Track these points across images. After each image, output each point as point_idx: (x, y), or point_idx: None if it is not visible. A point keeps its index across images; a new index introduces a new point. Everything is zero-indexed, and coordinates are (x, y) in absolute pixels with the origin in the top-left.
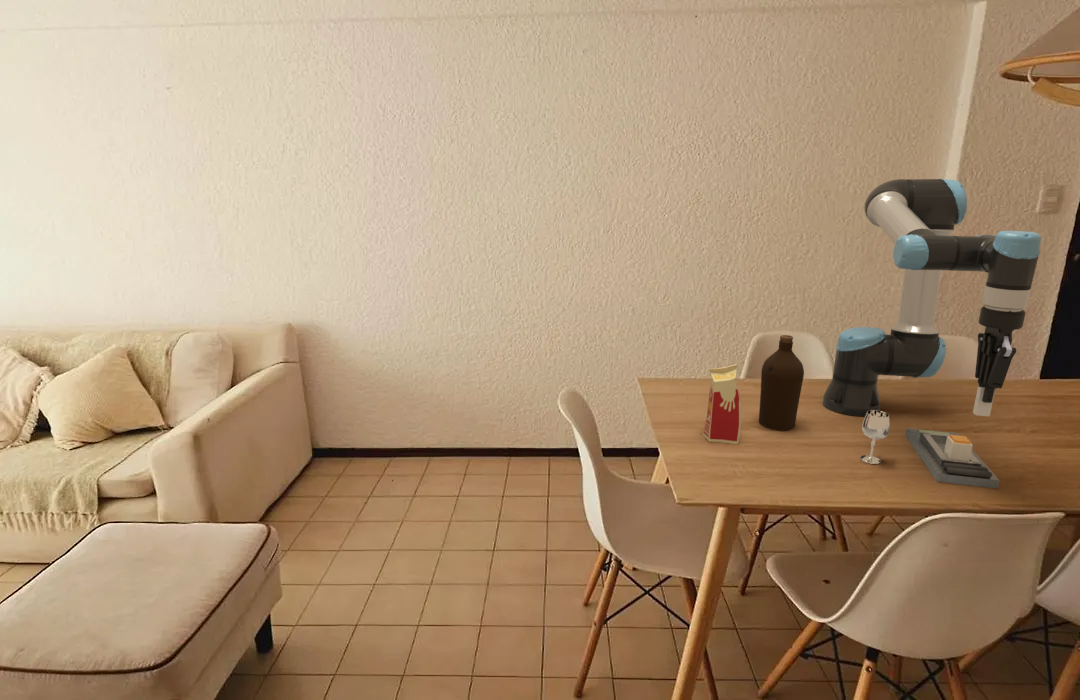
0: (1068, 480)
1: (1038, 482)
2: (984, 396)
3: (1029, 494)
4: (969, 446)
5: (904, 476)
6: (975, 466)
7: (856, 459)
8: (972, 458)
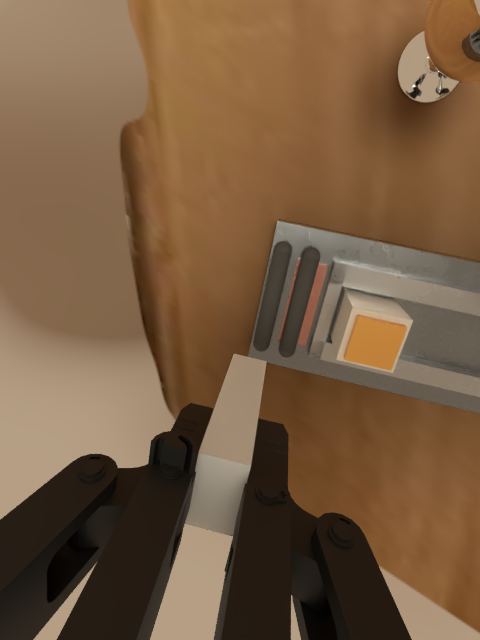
0: None
1: None
2: (188, 425)
3: None
4: (338, 349)
5: (309, 136)
6: (290, 330)
7: None
8: None
